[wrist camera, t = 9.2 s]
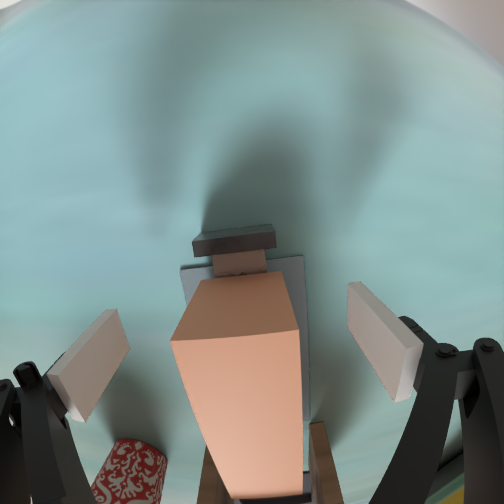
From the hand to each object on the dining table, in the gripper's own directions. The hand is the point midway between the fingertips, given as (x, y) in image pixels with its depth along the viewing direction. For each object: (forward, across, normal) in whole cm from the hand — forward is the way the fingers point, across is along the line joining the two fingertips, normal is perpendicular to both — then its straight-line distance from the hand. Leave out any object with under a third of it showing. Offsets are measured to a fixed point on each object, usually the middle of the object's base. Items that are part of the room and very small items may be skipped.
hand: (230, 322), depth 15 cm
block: (+5, +1, -7) cm, 8 cm away
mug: (+6, -16, -24) cm, 30 cm away
